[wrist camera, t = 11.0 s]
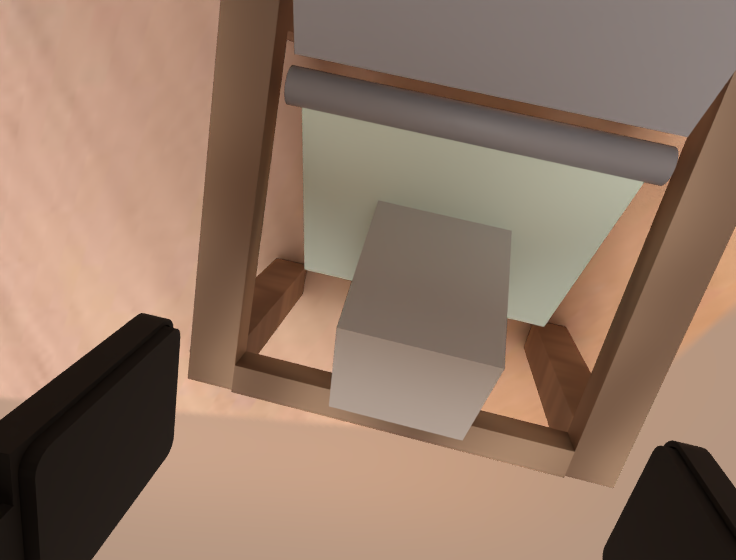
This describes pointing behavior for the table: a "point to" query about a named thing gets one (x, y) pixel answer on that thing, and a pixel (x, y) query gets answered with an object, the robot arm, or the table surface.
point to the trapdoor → (499, 120)
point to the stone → (423, 321)
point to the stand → (544, 344)
